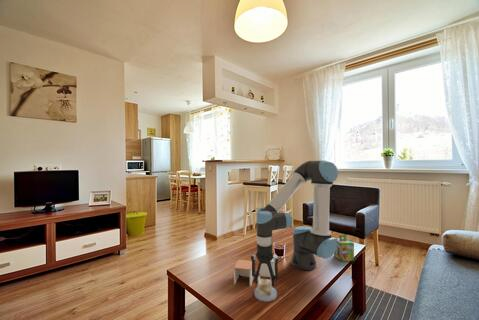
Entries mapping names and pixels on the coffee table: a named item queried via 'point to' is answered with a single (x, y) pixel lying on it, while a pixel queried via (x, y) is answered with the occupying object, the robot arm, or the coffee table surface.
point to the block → (264, 287)
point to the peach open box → (243, 270)
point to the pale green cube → (264, 268)
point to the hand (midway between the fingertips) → (265, 291)
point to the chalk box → (344, 249)
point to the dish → (264, 297)
